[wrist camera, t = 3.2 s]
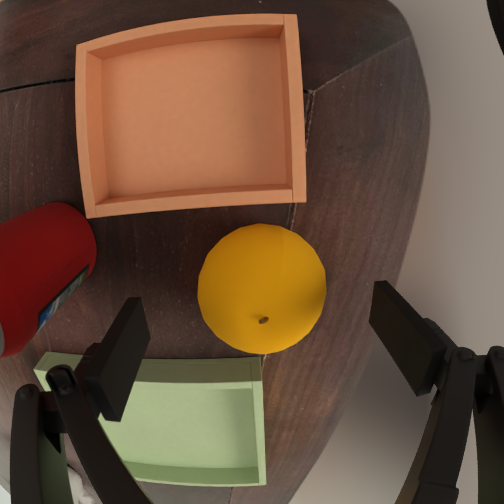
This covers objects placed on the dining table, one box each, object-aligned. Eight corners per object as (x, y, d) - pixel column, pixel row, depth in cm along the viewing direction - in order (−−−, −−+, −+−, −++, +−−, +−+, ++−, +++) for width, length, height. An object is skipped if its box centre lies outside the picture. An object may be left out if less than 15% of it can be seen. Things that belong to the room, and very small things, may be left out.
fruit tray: (259, 356, 25) (262, 380, 22) (264, 465, 32) (266, 484, 29) (46, 350, 24) (32, 369, 22) (107, 457, 31) (102, 473, 28)
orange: (271, 330, 24) (282, 398, 17) (184, 282, 22) (162, 343, 15) (333, 251, 22) (373, 300, 15) (242, 190, 20) (244, 217, 13)
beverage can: (44, 280, 22) (-39, 361, 11) (28, 204, 19) (-80, 256, 8) (108, 280, 22) (30, 383, 11) (94, 194, 20) (-21, 252, 8)
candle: (99, 493, 36) (32, 453, 35) (99, 473, 32) (21, 426, 32) (84, 528, 27) (12, 484, 27) (78, 515, 24) (-4, 460, 23)
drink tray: (288, 30, 16) (296, 14, 13) (296, 193, 20) (306, 202, 17) (95, 55, 16) (76, 44, 13) (105, 208, 20) (86, 219, 17)
